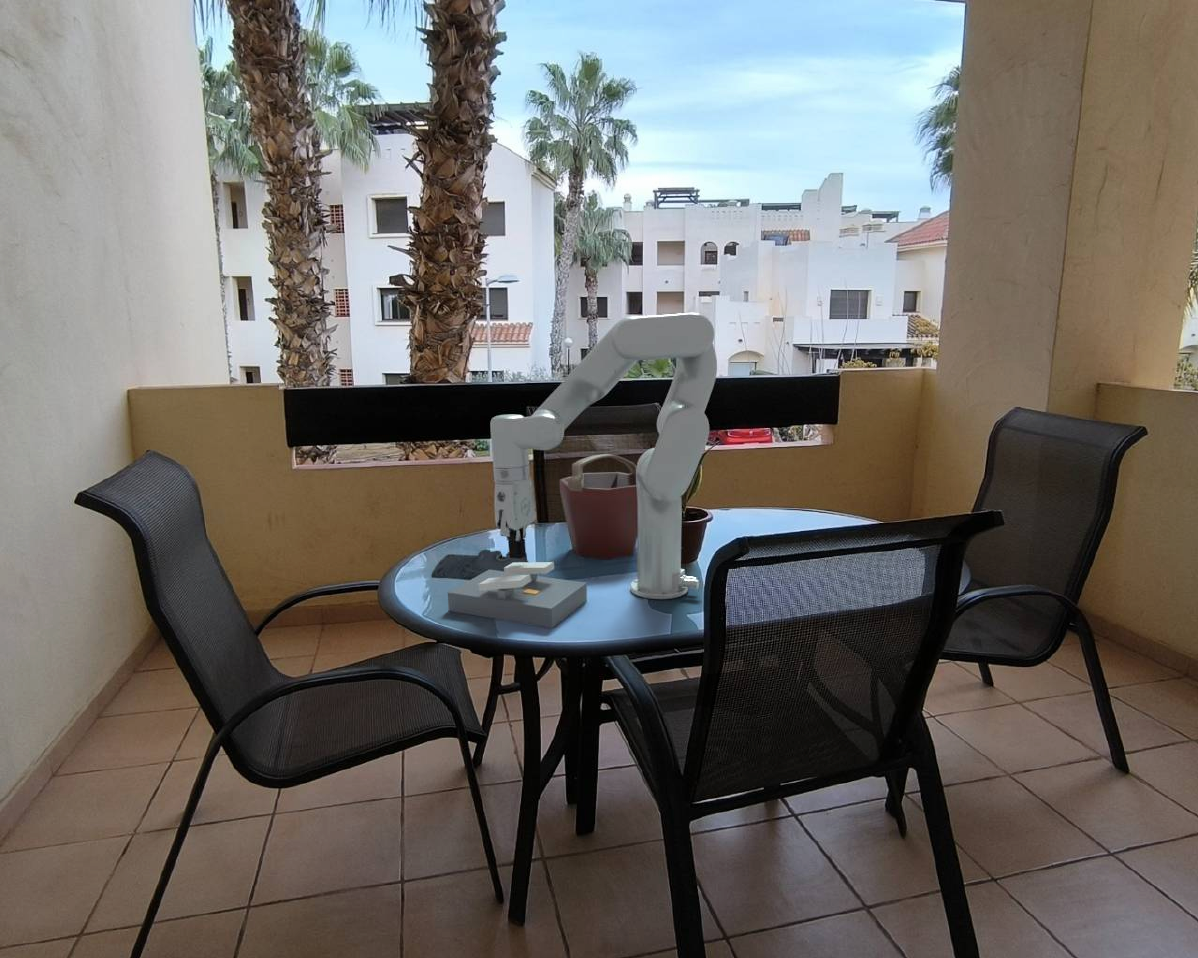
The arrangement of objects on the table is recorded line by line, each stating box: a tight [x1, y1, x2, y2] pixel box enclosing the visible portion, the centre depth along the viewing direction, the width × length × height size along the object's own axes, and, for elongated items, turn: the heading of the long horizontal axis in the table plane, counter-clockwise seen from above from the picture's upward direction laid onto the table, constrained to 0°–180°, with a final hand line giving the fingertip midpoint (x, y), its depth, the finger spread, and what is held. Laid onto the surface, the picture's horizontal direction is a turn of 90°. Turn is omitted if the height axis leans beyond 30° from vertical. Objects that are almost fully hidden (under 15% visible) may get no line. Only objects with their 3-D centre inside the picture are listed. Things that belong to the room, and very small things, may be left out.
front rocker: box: [478, 574, 531, 591], centre depth 151 cm, size 10×4×1 cm, turn 66°
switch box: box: [447, 569, 588, 629], centre depth 156 cm, size 24×16×6 cm, turn 66°
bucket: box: [559, 453, 638, 561], centre depth 194 cm, size 24×22×25 cm
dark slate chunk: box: [431, 549, 530, 581], centre depth 180 cm, size 15×22×5 cm
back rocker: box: [504, 561, 555, 575], centre depth 160 cm, size 10×4×1 cm, turn 66°
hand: (517, 556), depth 161 cm, fingers closed
